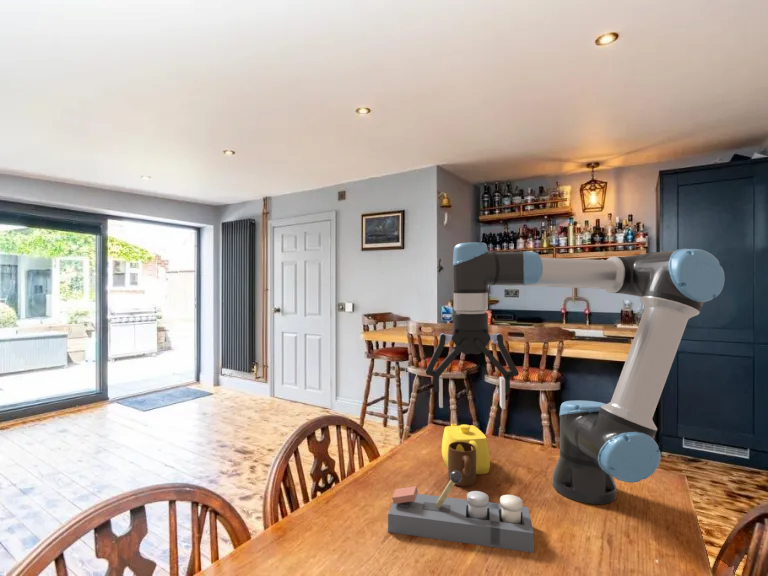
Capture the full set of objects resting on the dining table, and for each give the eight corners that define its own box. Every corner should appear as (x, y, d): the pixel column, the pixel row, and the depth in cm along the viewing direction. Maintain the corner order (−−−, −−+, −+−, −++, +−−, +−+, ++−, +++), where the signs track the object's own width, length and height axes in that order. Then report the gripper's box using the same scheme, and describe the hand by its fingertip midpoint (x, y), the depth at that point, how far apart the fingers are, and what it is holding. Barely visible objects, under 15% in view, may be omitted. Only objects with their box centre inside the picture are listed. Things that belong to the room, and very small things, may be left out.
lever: (443, 505, 93) (464, 472, 92) (442, 511, 91) (463, 478, 90) (433, 498, 94) (454, 466, 93) (432, 504, 91) (453, 471, 90)
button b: (488, 512, 92) (488, 492, 92) (488, 524, 87) (488, 502, 87) (467, 510, 93) (467, 489, 93) (466, 521, 89) (466, 500, 88)
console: (527, 524, 93) (528, 503, 93) (533, 552, 83) (533, 529, 83) (397, 507, 99) (397, 488, 99) (388, 532, 90) (388, 510, 90)
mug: (483, 495, 105) (483, 459, 105) (453, 495, 105) (453, 459, 105) (472, 474, 117) (472, 441, 117) (445, 474, 117) (446, 441, 117)
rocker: (417, 491, 95) (416, 486, 95) (415, 500, 91) (413, 494, 91) (397, 495, 96) (395, 489, 96) (393, 503, 92) (392, 497, 93)
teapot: (435, 451, 133) (435, 414, 133) (471, 449, 135) (472, 413, 134) (454, 480, 113) (454, 438, 113) (497, 478, 115) (497, 435, 115)
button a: (521, 516, 90) (521, 496, 90) (523, 529, 86) (523, 507, 86) (499, 514, 91) (499, 493, 91) (500, 526, 87) (500, 504, 87)
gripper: (524, 310, 95) (524, 402, 95) (415, 311, 97) (416, 400, 98) (532, 313, 87) (533, 412, 88) (414, 313, 90) (415, 410, 90)
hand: (471, 406), depth 93 cm, fingers open, 13 cm apart
